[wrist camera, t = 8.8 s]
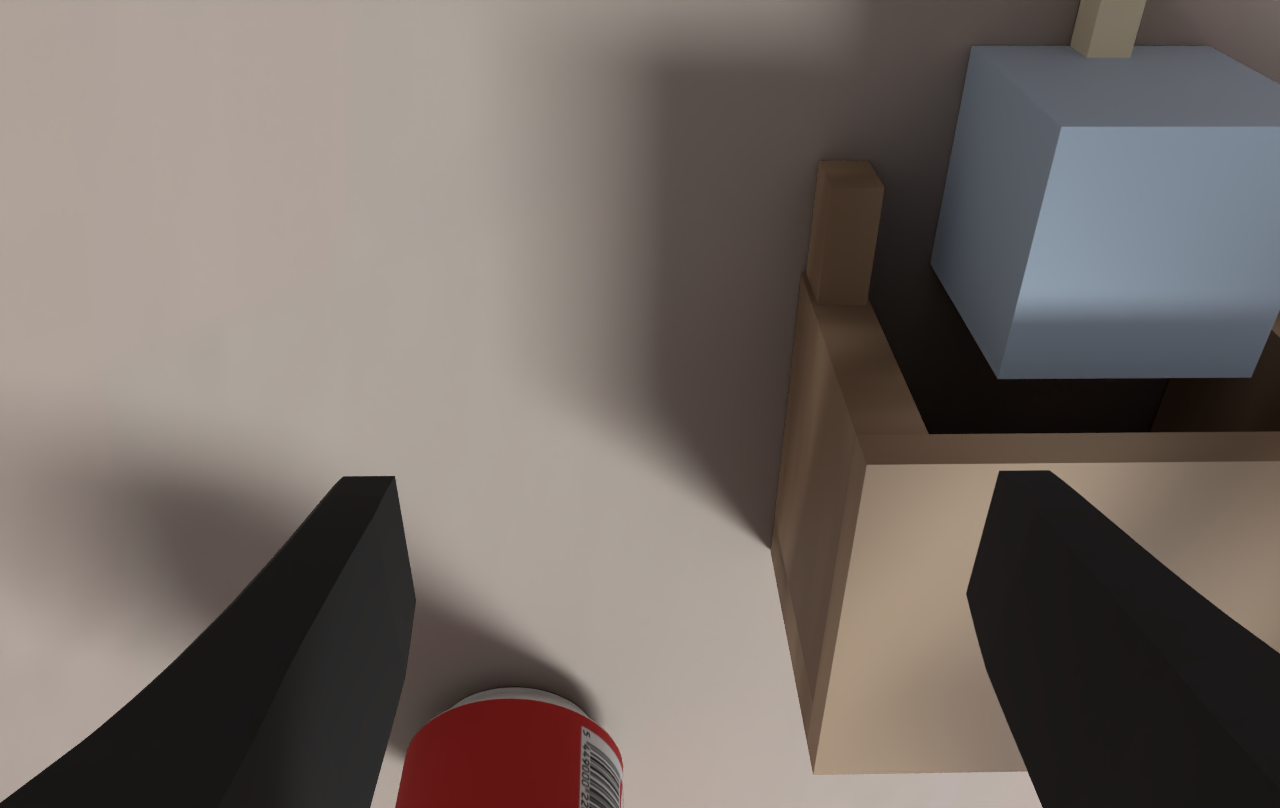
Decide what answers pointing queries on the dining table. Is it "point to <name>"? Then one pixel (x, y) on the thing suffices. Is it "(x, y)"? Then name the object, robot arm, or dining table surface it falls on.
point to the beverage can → (512, 756)
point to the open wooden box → (971, 516)
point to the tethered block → (1113, 206)
